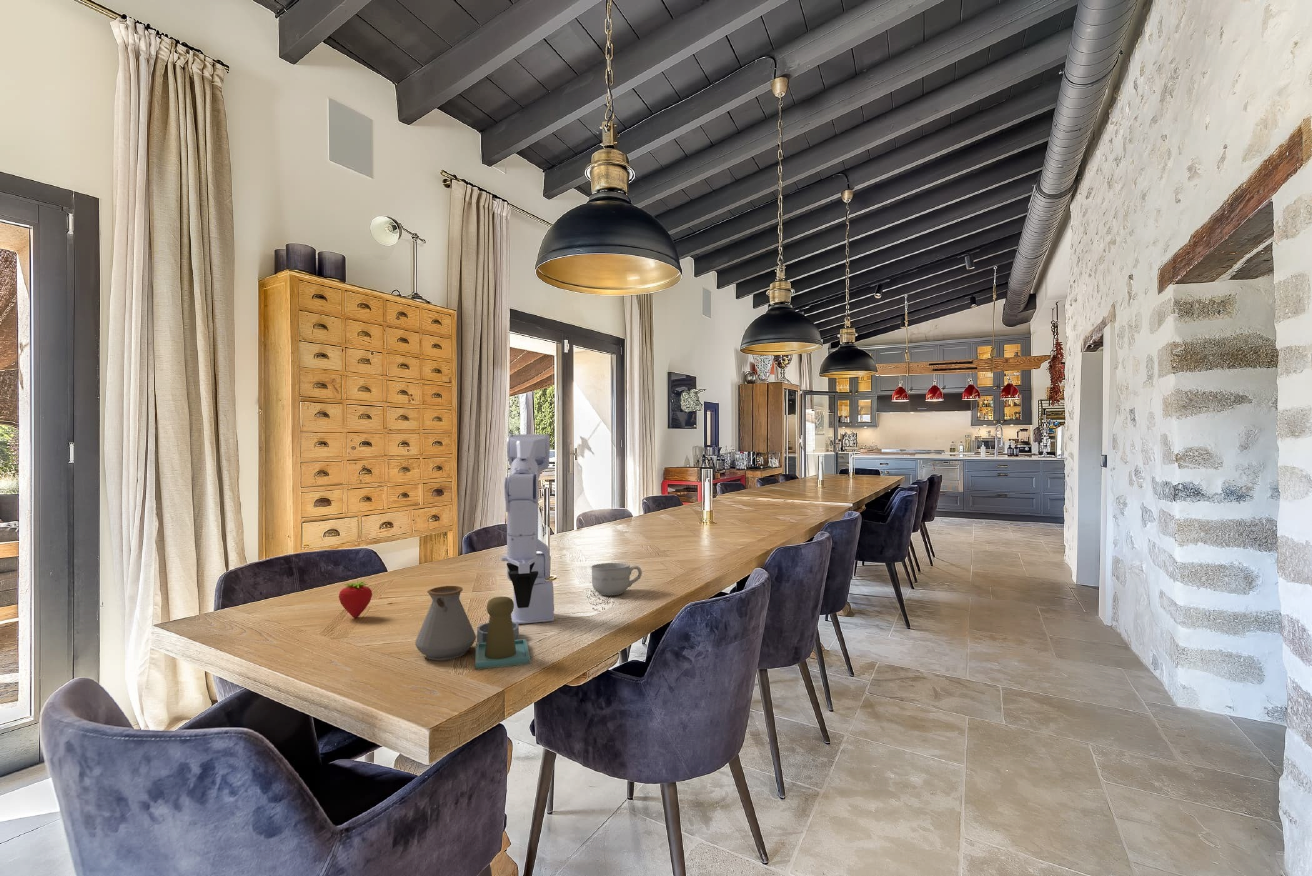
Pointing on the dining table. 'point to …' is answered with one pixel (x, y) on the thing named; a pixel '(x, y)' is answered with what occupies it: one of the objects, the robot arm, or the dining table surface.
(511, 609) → the cork
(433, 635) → the coffee pot
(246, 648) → the dining table surface
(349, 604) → the strawberry
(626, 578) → the teacup
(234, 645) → the dining table surface
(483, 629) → the ring
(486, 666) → the tray
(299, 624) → the dining table surface
